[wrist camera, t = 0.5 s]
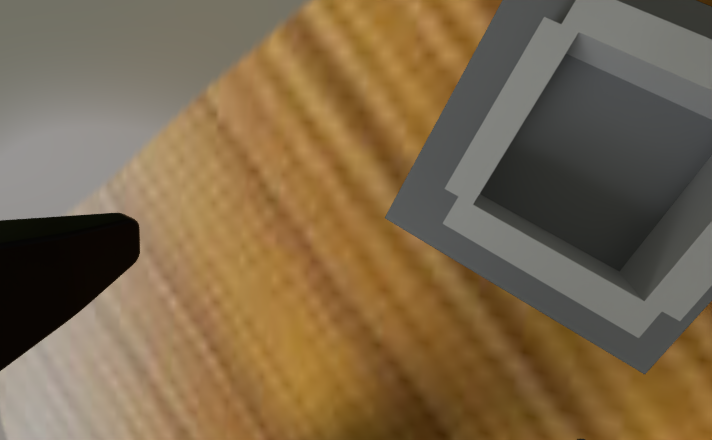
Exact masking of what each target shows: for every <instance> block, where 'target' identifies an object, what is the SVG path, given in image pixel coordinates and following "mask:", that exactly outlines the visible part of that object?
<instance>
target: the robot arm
mask: <svg viewBox="0 0 712 440" xmlns="http://www.w3.org/2000/svg"><path fill="white" fill-rule="evenodd" d="M139 254H140V234H139V224H138V222H137V221H136V220H135V219H133V218H131V217H129V216H127V215H125V214H122V213H106V214H91V215H76V216H61V217H47V218H31V219H17V220H2V221H0V371H1V370H2V369H4V368H5V367H6V366H8V365H9V364H10V363H12V362H13V361H15V360H16V359H17V358H19V357H20V356H21V355H23V354H24V353H25V352H27V351H28V350H29V349H31V348H32V347H33V346H35V345H36V344H37V343H39V342H40V341H41V340H43V339H44V338H45V337H47V336H48V335H49V334H51V333H52V332H54V331H55V330H56V329H58V328H59V327H60V326H62V325H63V324H64V323H66V322H67V321H68V320H70V319H71V318H72V317H73V316H75V315H76V314H77V313H79V312H80V311H81V310H82V309H83V308H84V307H86V306H87V305H88V304H89V303H90V302H91V301H92V300H94V299H95V298H96V297H97V296H98V295H99V294H100V293H102V292H103V291H104V290H105V289H106V288H107V287H108V286H109V285H111V284H112V283H113V282H114V281H115V280H116V279H117V278H118V277H120V276H121V275H122V274H123V273H124V272H125V271H126V270H127V269H129V268H130V267H131V266H132V265H133V264H134V263H135V262H136V261H137V259H138V257H139ZM577 440H585V439H577Z"/></svg>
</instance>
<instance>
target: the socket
mask: <svg viewBox="0 0 712 440" xmlns="http://www.w3.org/2000/svg"><path fill="white" fill-rule="evenodd" d="M385 218H386V219H387V220H389V221H391V222H392V223H394V224H396V225H397V226H399V227H401V228H402V229H404V230H406V231H407V232H409V233H411V234H412V235H414V236H416V237H417V238H419V239H420V240H422V241H424V242H425V243H427V244H429V245H430V246H432V247H434V248H435V249H437V250H439V251H440V252H442V253H444V254H445V255H447V256H449V257H450V258H452V259H454V260H455V261H457V262H459V263H460V264H462V265H464V266H465V267H467V268H469V269H470V270H472V271H474V272H475V273H477V274H479V275H480V276H482V277H484V278H485V279H487V280H489V281H490V282H492V283H494V284H495V285H497V286H499V287H500V288H502V289H504V290H505V291H507V292H509V293H510V294H512V295H514V296H515V297H517V298H519V299H520V300H522V301H524V302H525V303H527V304H529V305H530V306H532V307H534V308H535V309H537V310H539V311H540V312H542V313H544V314H545V315H547V316H549V317H550V318H552V319H554V320H555V321H557V322H559V323H560V324H562V325H563V326H565V327H567V328H568V329H570V330H572V331H573V332H575V333H577V334H578V335H580V336H582V337H583V338H585V339H587V340H588V341H590V342H592V343H593V344H595V345H597V346H598V347H600V348H602V349H603V350H605V351H607V352H608V353H610V354H612V355H613V356H615V357H617V358H618V359H620V360H622V361H623V362H625V363H627V364H628V365H630V366H632V367H633V368H635V369H637V370H638V371H640V372H642V373H643V374H646V373H647V371H648V370H649V369H650V368H651V367H652V366H653V365H654V364H655V363H656V361H657V360H658V359H659V358H660V357H661V356H662V355H663V354H664V353H665V352H666V350H667V349H668V348H669V347H670V346H671V345H672V344H673V343H674V342H675V340H676V339H677V338H678V337H679V336H680V335H681V334H682V333H683V332H684V330H685V329H686V328H687V327H688V326H689V325H690V324H691V323H692V322H693V321H694V319H695V318H696V317H697V316H698V315H699V314H700V313H701V312H702V311H703V309H704V308H705V307H706V306H707V305H708V304H709V303H710V302H711V301H712V7H711V6H709V5H706V4H704V3H701V2H699V1H696V0H503V1H502V3H501V4H500V6H499V8H498V10H497V12H496V14H495V15H494V17H493V19H492V21H491V23H490V25H489V27H488V28H487V30H486V32H485V34H484V36H483V38H482V39H481V41H480V43H479V45H478V47H477V49H476V51H475V52H474V54H473V56H472V58H471V60H470V62H469V63H468V65H467V67H466V69H465V71H464V73H463V74H462V76H461V78H460V80H459V82H458V84H457V86H456V87H455V89H454V91H453V93H452V95H451V97H450V98H449V100H448V102H447V104H446V106H445V108H444V110H443V111H442V113H441V115H440V117H439V119H438V121H437V122H436V124H435V126H434V128H433V130H432V132H431V134H430V135H429V137H428V139H427V141H426V143H425V145H424V146H423V148H422V150H421V152H420V154H419V156H418V158H417V159H416V161H415V163H414V165H413V167H412V169H411V170H410V172H409V174H408V176H407V178H406V180H405V181H404V183H403V185H402V187H401V189H400V191H399V193H398V194H397V196H396V198H395V200H394V202H393V204H392V205H391V207H390V209H389V211H388V213H387V215H386V217H385Z"/></svg>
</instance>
